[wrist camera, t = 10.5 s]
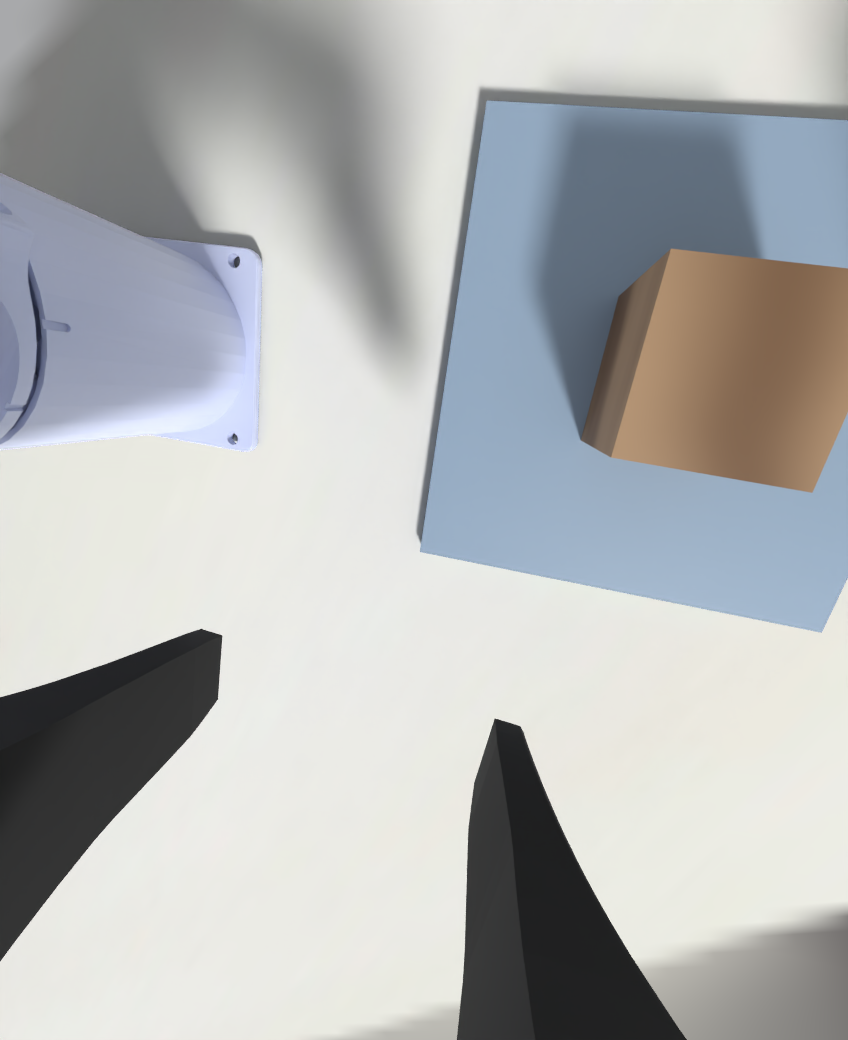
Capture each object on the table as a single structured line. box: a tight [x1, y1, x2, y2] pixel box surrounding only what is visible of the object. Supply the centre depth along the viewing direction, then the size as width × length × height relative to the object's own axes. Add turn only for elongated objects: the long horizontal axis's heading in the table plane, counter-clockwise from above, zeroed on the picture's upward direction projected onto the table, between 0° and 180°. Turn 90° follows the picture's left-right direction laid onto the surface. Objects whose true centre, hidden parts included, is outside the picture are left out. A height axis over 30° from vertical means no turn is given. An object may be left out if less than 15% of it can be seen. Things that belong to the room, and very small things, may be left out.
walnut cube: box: [581, 249, 848, 493], centre depth 13 cm, size 5×5×5 cm
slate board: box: [420, 101, 848, 633], centre depth 16 cm, size 16×16×1 cm
